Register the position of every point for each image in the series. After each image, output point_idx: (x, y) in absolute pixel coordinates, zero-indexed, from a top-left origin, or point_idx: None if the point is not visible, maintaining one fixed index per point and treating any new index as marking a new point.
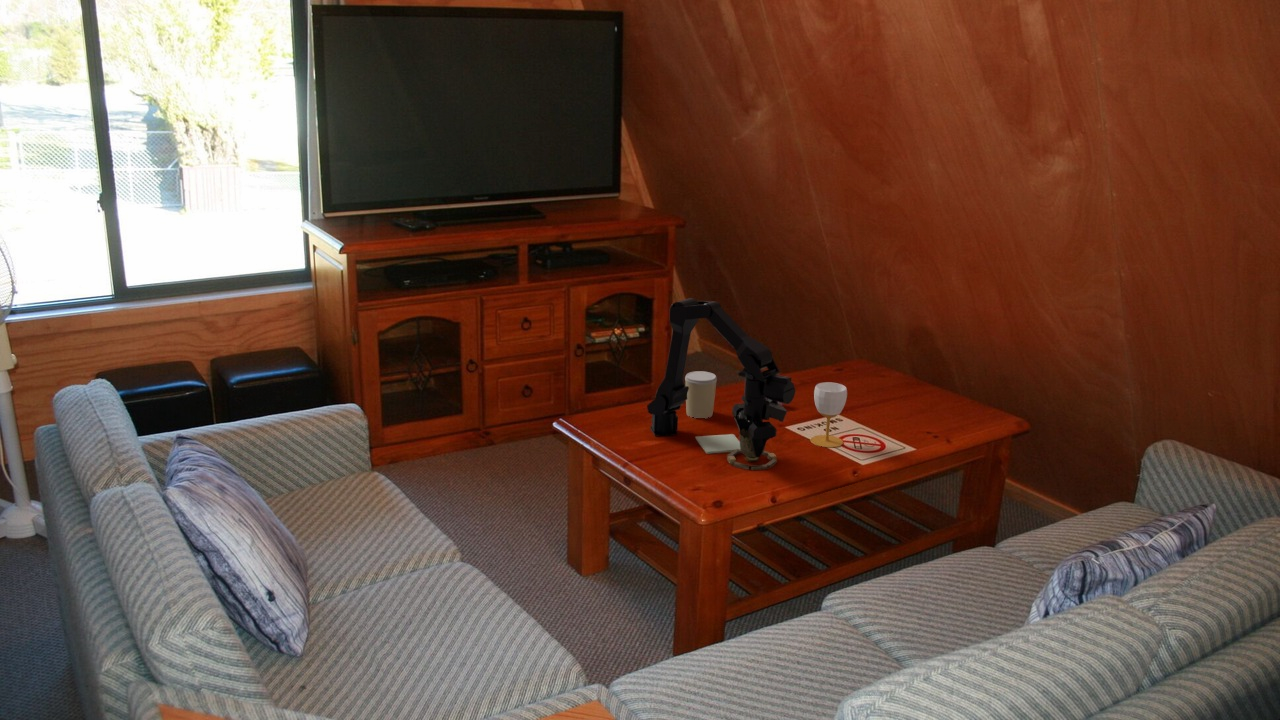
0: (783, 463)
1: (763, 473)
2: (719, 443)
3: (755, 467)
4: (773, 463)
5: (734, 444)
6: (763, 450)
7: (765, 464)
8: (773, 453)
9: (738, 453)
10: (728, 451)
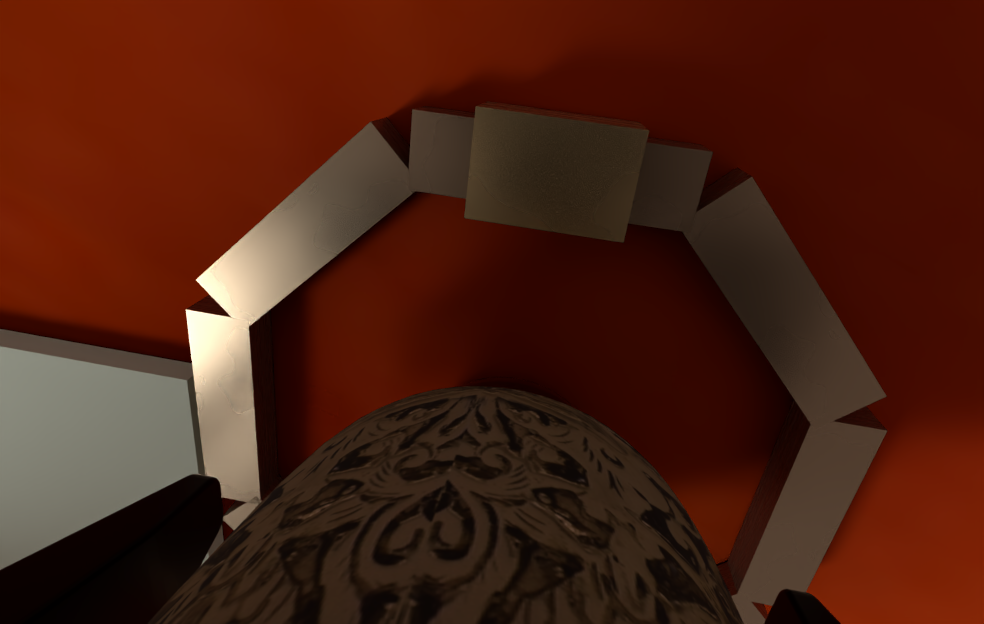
0: (809, 50)
1: (953, 509)
2: (22, 547)
3: (813, 567)
4: (810, 277)
5: (43, 432)
6: (674, 496)
7: (813, 428)
8: (507, 119)
9: (276, 475)
10: (218, 544)
